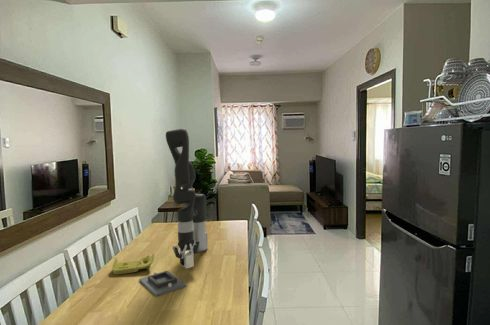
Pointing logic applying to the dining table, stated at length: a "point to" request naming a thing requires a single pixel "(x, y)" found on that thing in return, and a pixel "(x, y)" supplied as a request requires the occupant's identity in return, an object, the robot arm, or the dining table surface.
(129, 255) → the dining table surface
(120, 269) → the plastic component
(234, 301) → the dining table surface
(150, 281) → the housing plate
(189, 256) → the block
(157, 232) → the dining table surface
